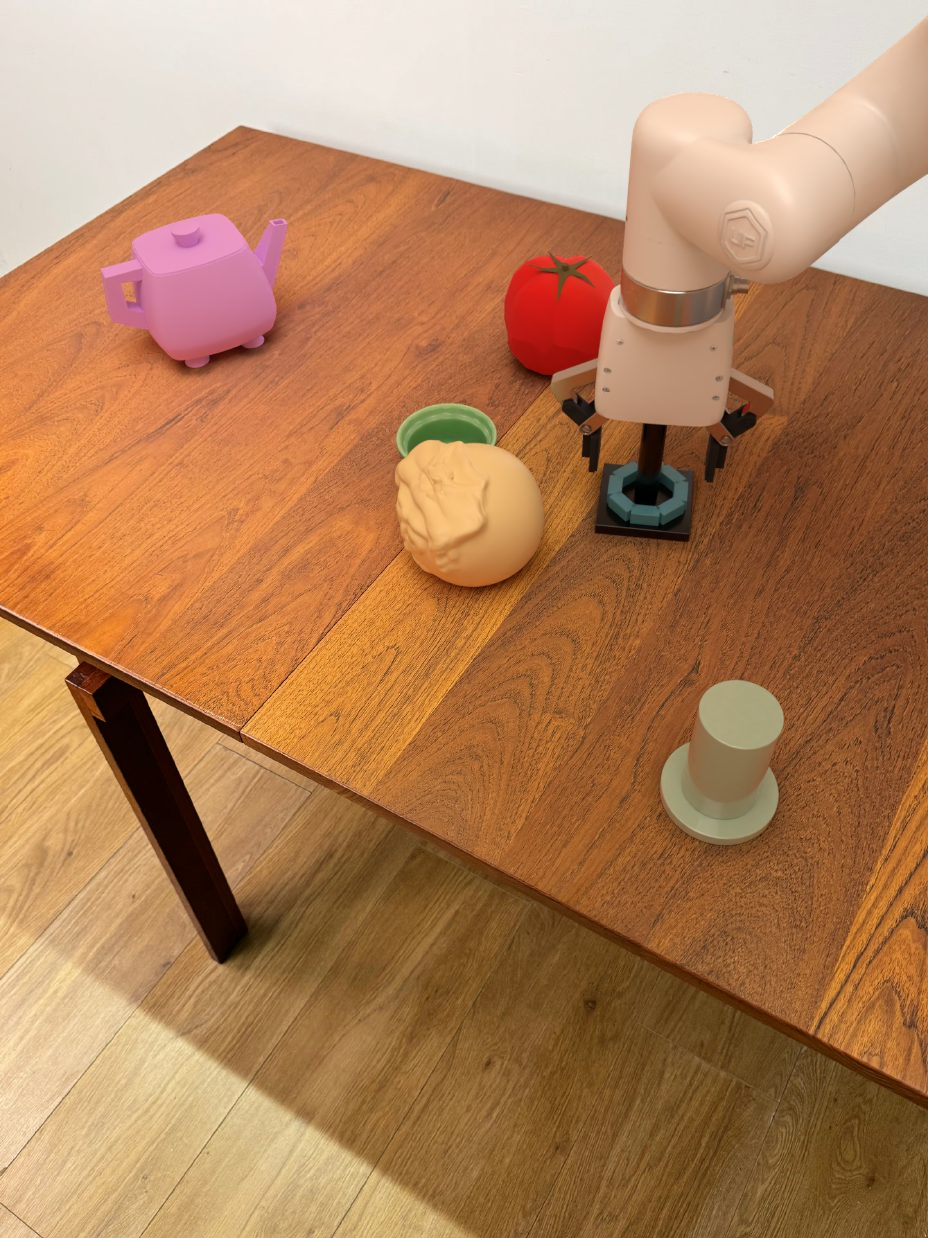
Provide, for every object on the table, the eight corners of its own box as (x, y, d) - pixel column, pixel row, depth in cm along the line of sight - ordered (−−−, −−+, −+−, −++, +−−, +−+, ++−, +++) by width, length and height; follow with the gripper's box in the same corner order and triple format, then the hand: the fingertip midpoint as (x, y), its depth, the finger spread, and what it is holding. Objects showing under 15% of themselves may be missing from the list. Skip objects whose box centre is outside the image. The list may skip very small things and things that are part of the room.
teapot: (145, 397, 101) (104, 285, 91) (111, 335, 108) (70, 226, 98) (325, 333, 107) (305, 222, 97) (281, 279, 114) (258, 170, 104)
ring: (687, 474, 89) (689, 464, 88) (684, 528, 85) (686, 518, 84) (611, 467, 90) (612, 457, 89) (604, 521, 86) (604, 511, 85)
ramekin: (398, 444, 95) (393, 407, 91) (492, 435, 95) (491, 398, 91) (403, 510, 89) (398, 473, 86) (503, 500, 89) (502, 463, 86)
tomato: (479, 358, 103) (474, 259, 94) (558, 312, 107) (561, 214, 98) (560, 411, 97) (564, 311, 88) (641, 361, 101) (652, 260, 92)
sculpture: (385, 530, 87) (370, 435, 79) (511, 492, 90) (510, 396, 81) (429, 624, 81) (418, 530, 72) (564, 579, 83) (569, 484, 75)
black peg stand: (692, 478, 90) (711, 368, 81) (688, 542, 85) (708, 432, 76) (603, 470, 91) (612, 361, 82) (594, 533, 86) (603, 424, 77)
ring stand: (775, 752, 72) (805, 669, 64) (776, 854, 67) (809, 777, 59) (662, 737, 73) (679, 655, 65) (655, 836, 68) (672, 759, 60)
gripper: (797, 263, 72) (756, 445, 85) (559, 251, 75) (555, 429, 88) (800, 324, 67) (756, 506, 81) (546, 308, 70) (543, 488, 83)
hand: (651, 466), depth 84 cm, fingers open, 9 cm apart
